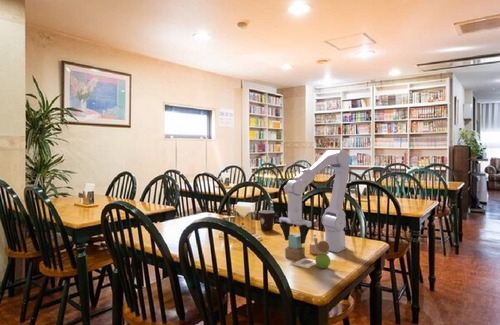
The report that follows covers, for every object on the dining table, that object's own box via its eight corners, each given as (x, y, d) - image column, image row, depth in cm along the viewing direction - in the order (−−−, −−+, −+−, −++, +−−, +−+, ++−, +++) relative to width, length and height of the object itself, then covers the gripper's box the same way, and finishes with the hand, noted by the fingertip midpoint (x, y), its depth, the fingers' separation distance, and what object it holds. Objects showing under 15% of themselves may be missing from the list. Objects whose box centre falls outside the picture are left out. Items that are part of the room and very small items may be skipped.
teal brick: (293, 245, 144) (293, 233, 144) (301, 247, 142) (301, 235, 142) (288, 247, 141) (288, 235, 141) (296, 249, 139) (296, 237, 138)
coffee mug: (256, 228, 191) (256, 210, 191) (271, 227, 194) (271, 209, 193) (263, 233, 180) (263, 214, 180) (279, 232, 183) (278, 213, 182)
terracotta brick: (312, 250, 149) (312, 241, 149) (321, 251, 148) (321, 242, 148) (309, 253, 146) (309, 244, 146) (318, 254, 144) (318, 245, 144)
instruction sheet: (304, 258, 139) (304, 257, 139) (319, 262, 134) (319, 261, 134) (292, 264, 132) (292, 263, 132) (308, 268, 127) (308, 267, 127)
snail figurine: (317, 263, 132) (317, 233, 132) (332, 267, 128) (332, 235, 128) (310, 267, 128) (310, 236, 128) (326, 271, 124) (326, 239, 124)
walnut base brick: (291, 253, 146) (291, 244, 146) (304, 256, 143) (304, 246, 142) (285, 257, 141) (285, 248, 141) (298, 260, 138) (298, 250, 137)
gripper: (274, 208, 142) (275, 240, 143) (305, 212, 133) (305, 246, 134) (284, 206, 148) (284, 237, 148) (314, 209, 139) (314, 242, 139)
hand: (294, 241), depth 141 cm, fingers open, 7 cm apart
